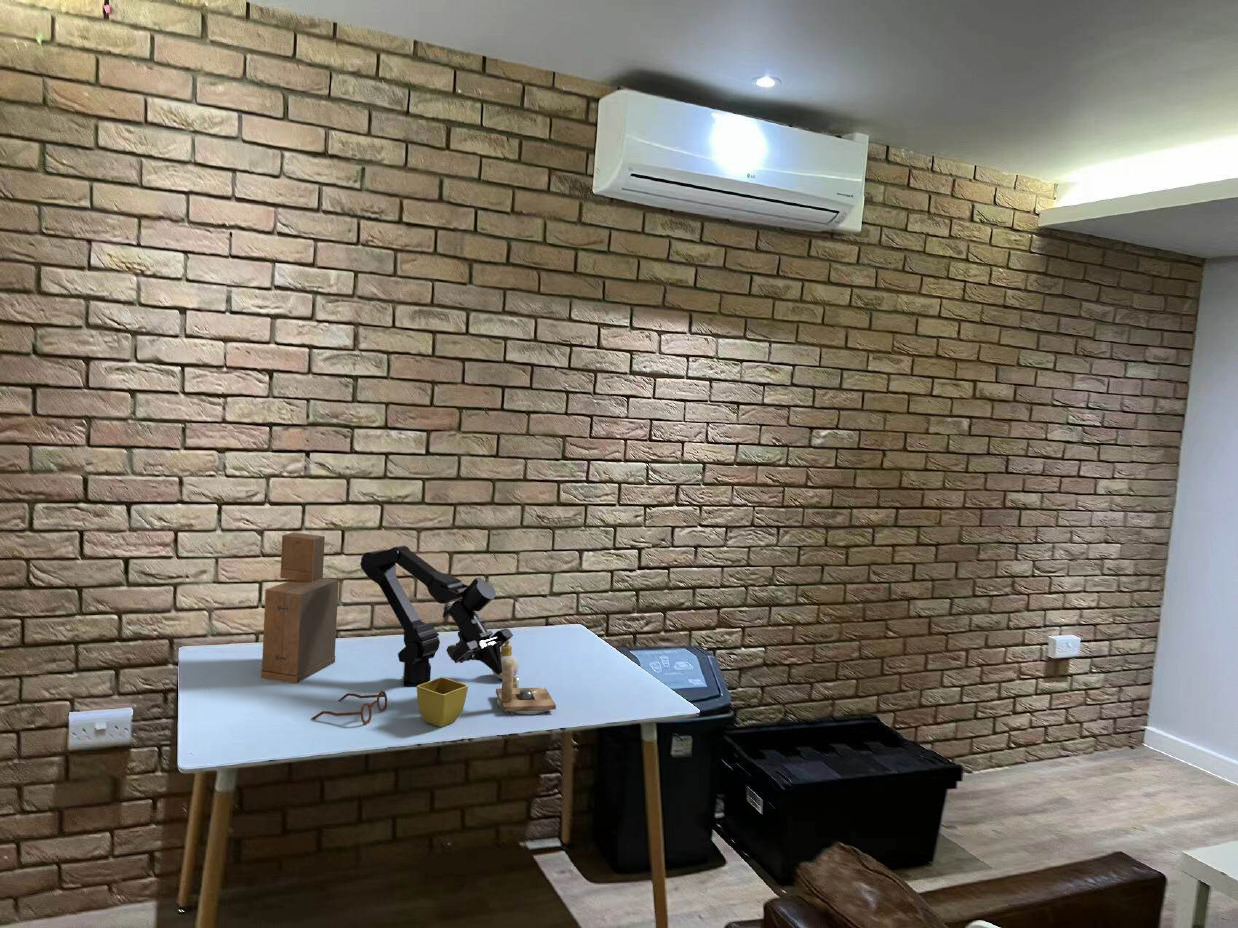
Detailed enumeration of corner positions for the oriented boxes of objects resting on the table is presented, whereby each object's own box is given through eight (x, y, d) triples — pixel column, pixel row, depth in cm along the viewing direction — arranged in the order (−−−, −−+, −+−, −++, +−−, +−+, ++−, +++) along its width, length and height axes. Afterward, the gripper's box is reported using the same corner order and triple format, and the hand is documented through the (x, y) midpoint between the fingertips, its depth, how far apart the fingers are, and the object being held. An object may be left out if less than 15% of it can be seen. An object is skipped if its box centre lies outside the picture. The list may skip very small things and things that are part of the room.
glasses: (363, 728, 204) (364, 707, 203) (310, 720, 206) (312, 699, 205) (388, 709, 216) (389, 689, 216) (338, 701, 219) (339, 682, 218)
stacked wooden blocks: (288, 655, 249) (294, 532, 246) (335, 662, 246) (341, 537, 243) (247, 675, 230) (252, 542, 227) (296, 683, 228) (303, 548, 225)
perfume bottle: (521, 681, 242) (524, 639, 241) (486, 684, 238) (489, 640, 237) (513, 673, 249) (516, 631, 248) (479, 674, 245) (482, 632, 244)
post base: (501, 716, 216) (502, 700, 216) (491, 691, 233) (492, 677, 232) (557, 714, 220) (559, 698, 220) (543, 690, 237) (545, 676, 236)
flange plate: (503, 710, 217) (506, 666, 216) (495, 692, 229) (498, 650, 228) (555, 709, 221) (559, 666, 220) (545, 691, 233) (548, 650, 232)
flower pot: (440, 732, 204) (443, 694, 203) (413, 722, 208) (415, 685, 207) (466, 722, 211) (469, 685, 210) (439, 712, 216) (441, 676, 215)
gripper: (471, 632, 237) (502, 681, 233) (424, 646, 221) (456, 700, 216) (497, 608, 233) (529, 658, 228) (451, 621, 217) (484, 675, 212)
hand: (500, 673), depth 221 cm, fingers closed
